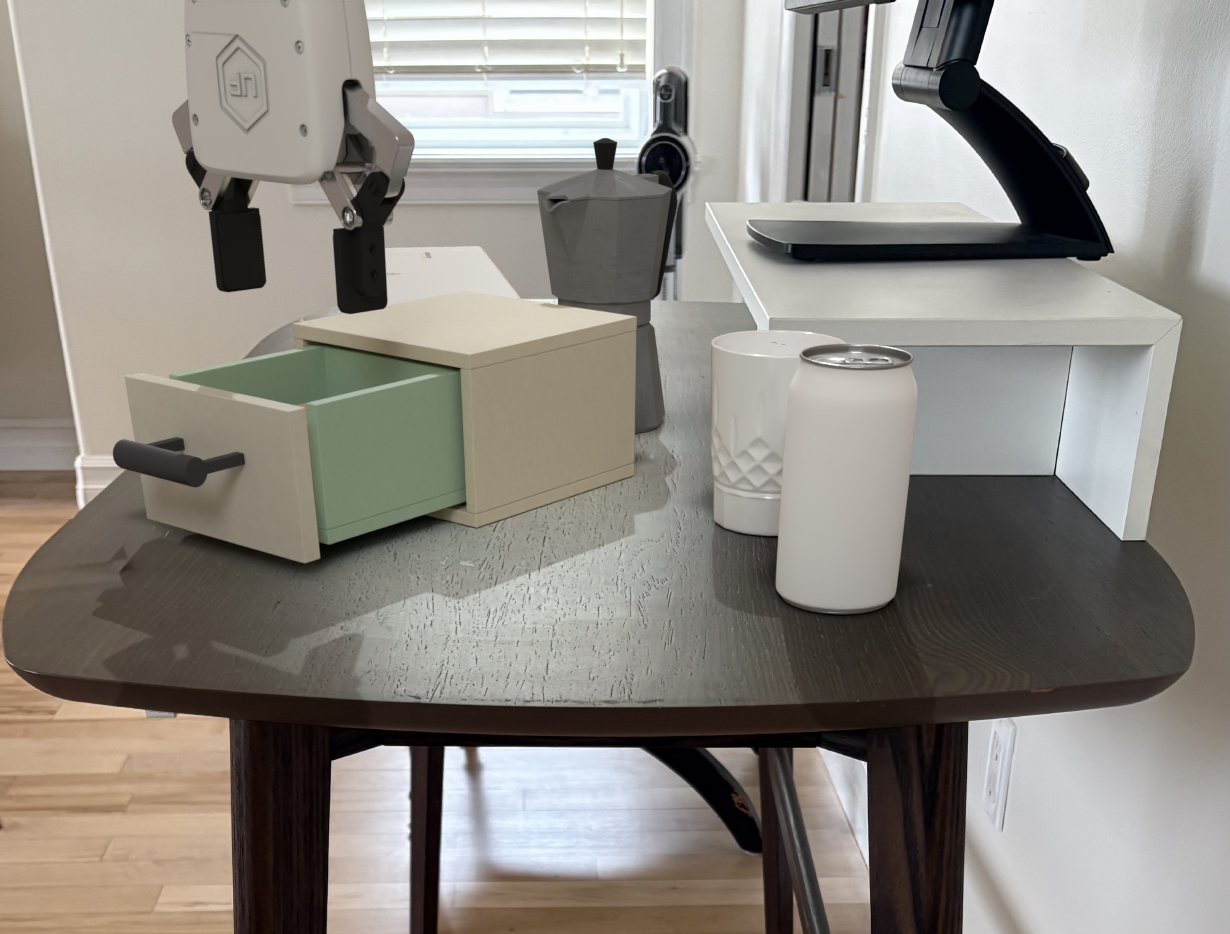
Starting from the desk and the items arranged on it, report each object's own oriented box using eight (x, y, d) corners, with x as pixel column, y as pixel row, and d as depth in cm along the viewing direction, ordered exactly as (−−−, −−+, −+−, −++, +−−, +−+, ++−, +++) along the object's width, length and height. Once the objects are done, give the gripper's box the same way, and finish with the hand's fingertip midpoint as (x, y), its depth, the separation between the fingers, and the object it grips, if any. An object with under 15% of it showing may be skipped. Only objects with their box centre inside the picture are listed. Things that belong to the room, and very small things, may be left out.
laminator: (366, 321, 148) (361, 247, 144) (497, 318, 150) (494, 245, 146) (391, 403, 121) (385, 314, 117) (550, 398, 123) (549, 310, 119)
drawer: (244, 583, 83) (224, 426, 78) (86, 535, 90) (59, 388, 85) (482, 506, 95) (477, 366, 91) (328, 469, 102) (315, 337, 97)
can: (772, 576, 87) (787, 340, 80) (889, 578, 87) (914, 342, 80) (777, 615, 82) (794, 366, 75) (901, 618, 82) (930, 369, 75)
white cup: (756, 547, 92) (767, 361, 86) (678, 515, 97) (683, 337, 91) (860, 527, 95) (877, 347, 89) (779, 496, 101) (790, 324, 95)
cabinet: (476, 528, 95) (469, 354, 89) (308, 486, 102) (291, 322, 96) (634, 475, 105) (637, 316, 99) (471, 440, 112) (464, 290, 106)
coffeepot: (606, 448, 110) (608, 149, 100) (499, 429, 114) (490, 140, 104) (719, 407, 121) (731, 133, 110) (617, 391, 125) (619, 125, 114)
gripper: (97, -89, 80) (146, 288, 89) (338, -89, 71) (362, 328, 81) (214, -82, 84) (248, 275, 94) (451, -81, 76) (462, 311, 86)
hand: (301, 299), depth 88 cm, fingers open, 9 cm apart
